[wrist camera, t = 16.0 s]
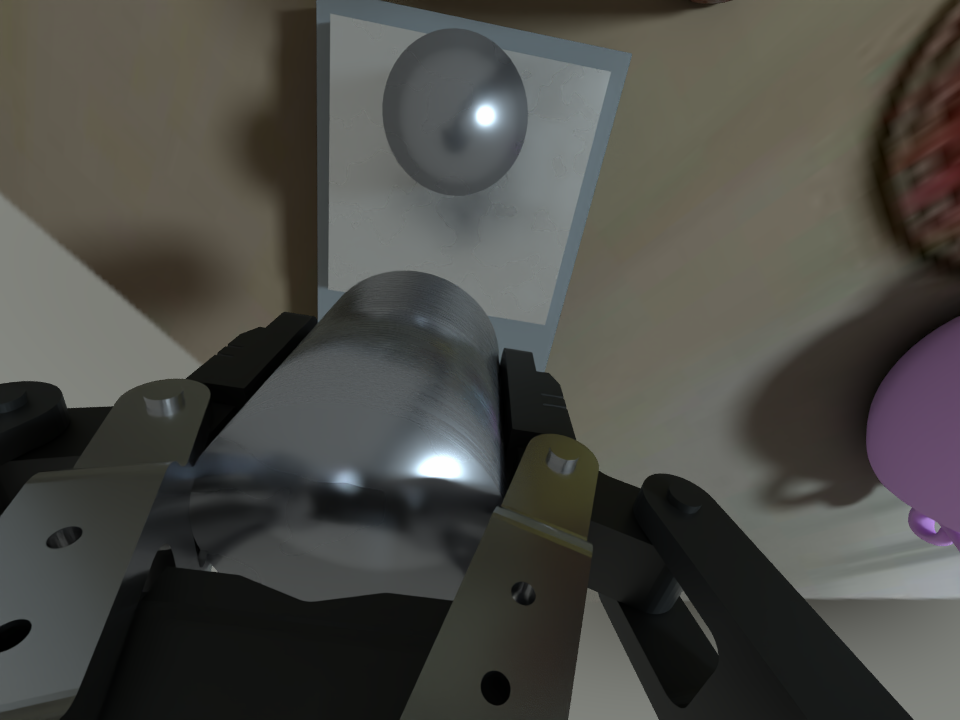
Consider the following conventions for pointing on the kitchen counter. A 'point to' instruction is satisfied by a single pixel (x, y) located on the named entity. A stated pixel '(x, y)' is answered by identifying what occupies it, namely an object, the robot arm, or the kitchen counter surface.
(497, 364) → the cylinder
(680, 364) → the kitchen counter surface
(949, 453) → the teapot
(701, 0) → the sauce bottle
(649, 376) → the kitchen counter surface
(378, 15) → the scale
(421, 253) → the pan
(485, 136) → the cylinder
